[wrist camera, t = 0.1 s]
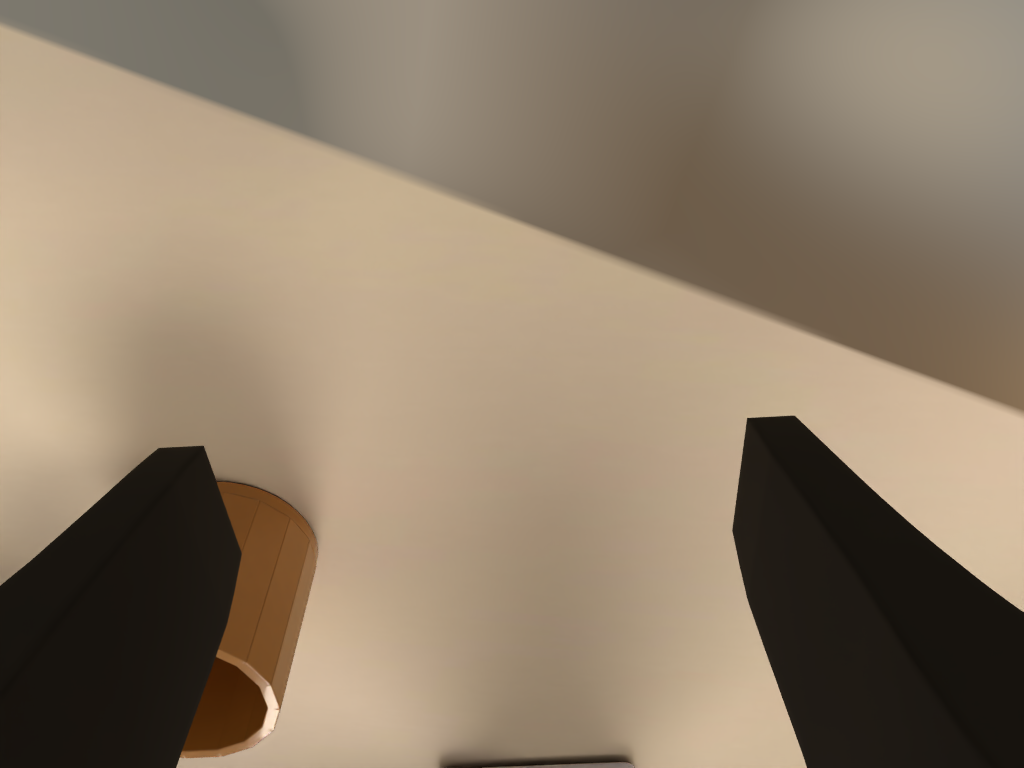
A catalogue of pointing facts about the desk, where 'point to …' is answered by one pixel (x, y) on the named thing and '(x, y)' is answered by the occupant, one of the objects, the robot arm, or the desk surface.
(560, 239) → the desk surface
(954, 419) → the desk surface
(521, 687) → the desk surface
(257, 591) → the orange tumbler
